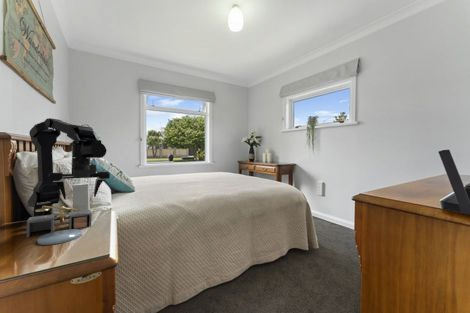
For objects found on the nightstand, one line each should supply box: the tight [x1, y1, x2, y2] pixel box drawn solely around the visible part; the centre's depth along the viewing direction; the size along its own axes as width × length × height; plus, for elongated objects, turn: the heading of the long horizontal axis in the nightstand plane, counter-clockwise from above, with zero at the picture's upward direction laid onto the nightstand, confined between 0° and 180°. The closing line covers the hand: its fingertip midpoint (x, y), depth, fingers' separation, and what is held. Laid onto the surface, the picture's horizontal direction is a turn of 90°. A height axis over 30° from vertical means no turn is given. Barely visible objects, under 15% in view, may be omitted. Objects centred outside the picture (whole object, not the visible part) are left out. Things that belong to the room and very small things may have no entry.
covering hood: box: [68, 209, 93, 230], centre depth 79 cm, size 7×7×5 cm
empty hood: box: [26, 213, 55, 238], centre depth 72 cm, size 7×7×5 cm
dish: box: [37, 228, 83, 246], centre depth 67 cm, size 11×11×1 cm
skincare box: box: [72, 182, 91, 212], centre depth 93 cm, size 8×6×15 cm
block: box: [72, 215, 88, 229], centre depth 79 cm, size 4×4×4 cm
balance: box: [35, 205, 80, 227], centre depth 83 cm, size 16×5×8 cm, turn 130°
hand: (80, 198), depth 79 cm, fingers open, 9 cm apart
